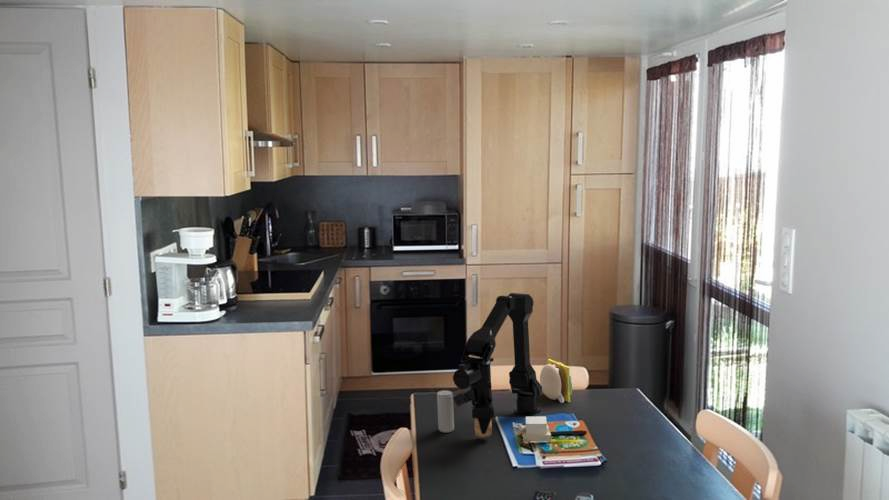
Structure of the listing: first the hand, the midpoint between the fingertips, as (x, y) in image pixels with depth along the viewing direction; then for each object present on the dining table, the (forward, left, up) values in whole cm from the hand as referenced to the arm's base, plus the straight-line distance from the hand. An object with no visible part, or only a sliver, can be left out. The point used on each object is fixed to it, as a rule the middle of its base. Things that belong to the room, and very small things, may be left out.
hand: (483, 430), depth 209 cm
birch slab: (-11, +11, -4) cm, 16 cm away
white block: (-11, +11, 0) cm, 16 cm away
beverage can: (+2, -14, -3) cm, 14 cm away
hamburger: (-43, -6, -3) cm, 43 cm away
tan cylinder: (0, 0, -1) cm, 1 cm away
